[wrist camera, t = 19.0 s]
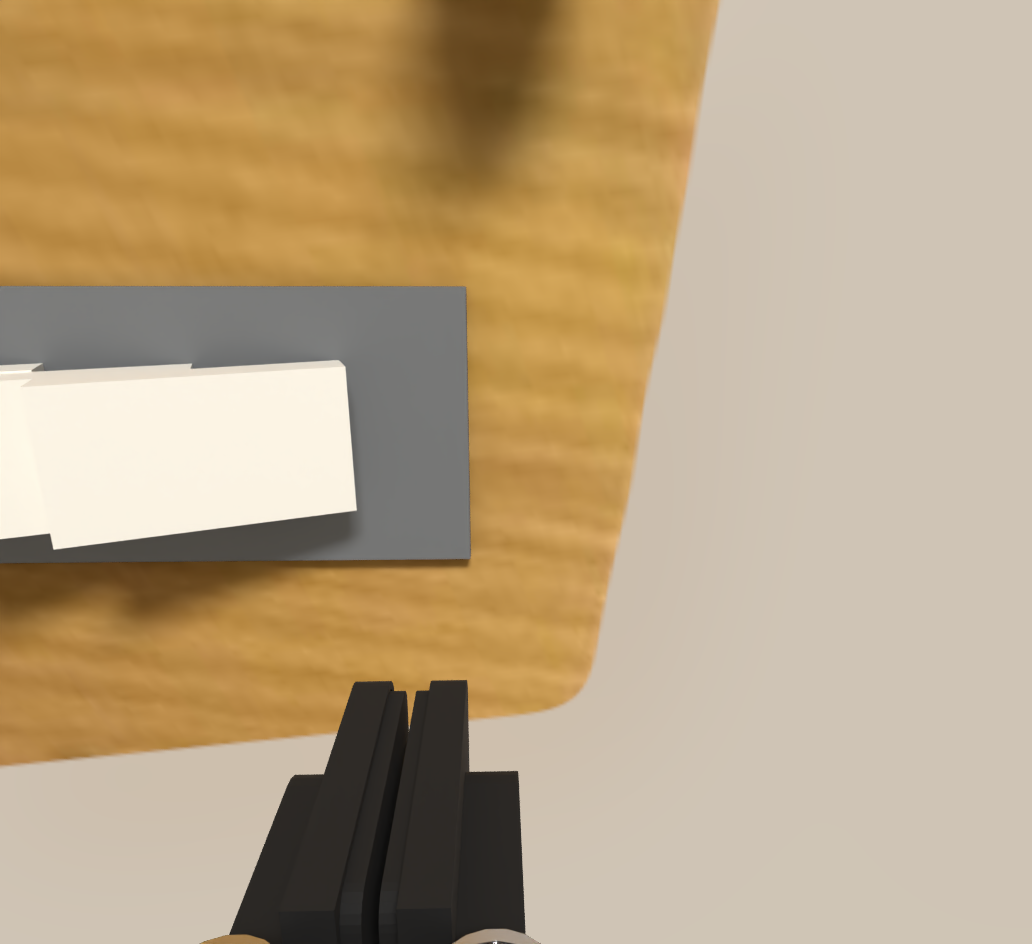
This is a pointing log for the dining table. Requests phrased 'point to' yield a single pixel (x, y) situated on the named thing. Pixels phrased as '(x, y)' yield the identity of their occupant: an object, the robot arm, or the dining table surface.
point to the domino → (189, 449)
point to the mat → (273, 340)
